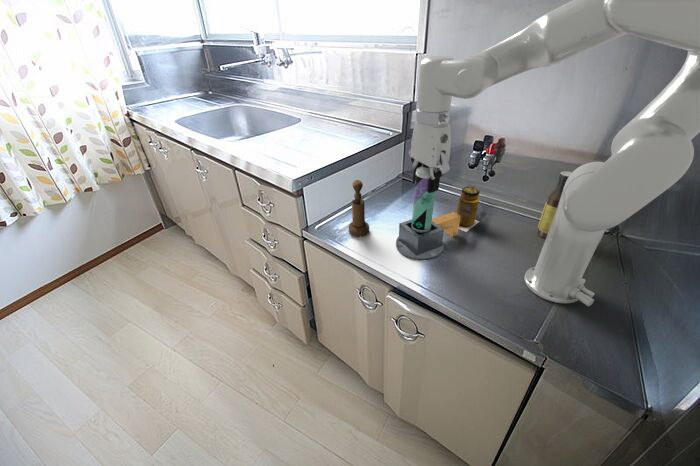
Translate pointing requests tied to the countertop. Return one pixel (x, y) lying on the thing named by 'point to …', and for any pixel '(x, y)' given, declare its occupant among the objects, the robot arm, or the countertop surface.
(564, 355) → the countertop surface
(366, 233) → the brown wooden tall piece
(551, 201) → the sauce bottle
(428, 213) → the spray can
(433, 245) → the grey square saucepan
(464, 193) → the condiment
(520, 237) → the countertop surface
